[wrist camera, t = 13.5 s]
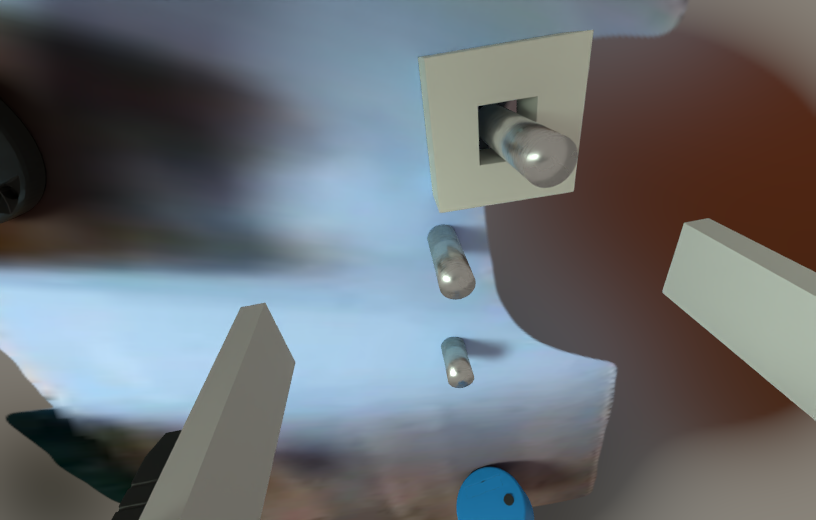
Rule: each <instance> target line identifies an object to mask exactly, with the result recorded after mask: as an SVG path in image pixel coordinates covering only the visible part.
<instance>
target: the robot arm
mask: <svg viewBox="0 0 816 520" xmlns="http://www.w3.org/2000/svg"><path fill="white" fill-rule="evenodd" d="M45 183H46V174H45V167H44V163H43V159H42V157H41V154H40V152H39V149H38V147H37V145H36V143H35V141H34V140H33V138H32V136H31V135H30V133H29V132H28V130H27V129H26V127H25V126H24V125H23V123H22V122H21V121H20V120H19V118H18V117H17V116H16V115H15V114H14V113H13V111H12V110H11V109H10V108H9V107H8V106H7V105H6V104H5V103H4V102H3V101H2V100H0V223H3V222H6V221H8V220H10V219H12V218H15V217H17V216H19V215H21V214H23V213H25V212H27V211H29V210H30V209H32V208H33V207H34V206H35V205H36V204H37V203H38V202H39V200H40V199H41V197H42V195H43V192H44V189H45ZM662 292H663V293H664V294H665V295H666V296H667V297H668V298H669V299H671V300H672V301H673V302H674V303H675V304H677V305H678V306H679V307H680V308H681V309H683V310H684V311H685V312H686V313H687V314H689V315H690V316H691V317H692V318H693V319H695V320H696V321H697V322H698V323H699V324H701V325H702V326H703V327H704V328H705V329H707V330H708V331H709V332H710V333H711V334H713V335H714V336H715V337H716V338H717V339H719V340H720V341H721V342H722V343H723V344H725V345H726V346H727V347H728V348H729V349H731V350H732V351H733V352H734V353H735V354H736V355H738V356H739V357H740V358H742V359H743V360H744V361H745V362H746V363H747V364H749V365H750V366H751V367H752V368H753V369H754V370H756V371H757V372H758V373H759V374H760V375H762V376H763V377H764V378H765V379H766V380H768V381H769V382H770V383H771V384H772V385H774V386H775V387H776V388H777V389H779V390H780V391H781V392H782V393H783V394H784V395H786V396H787V397H788V398H789V399H790V400H792V401H793V402H794V403H795V404H796V405H797V406H799V407H800V408H801V409H802V410H803V411H805V412H806V413H807V414H808V415H810V416H811V417H812V418H813V419H814V420H815V421H816V272H814V271H812V270H810V269H808V268H806V267H804V266H802V265H800V264H798V263H796V262H794V261H792V260H790V259H788V258H786V257H784V256H782V255H780V254H778V253H776V252H774V251H772V250H770V249H768V248H766V247H764V246H762V245H760V244H758V243H756V242H754V241H753V240H750V239H749V238H747V237H744V236H742V235H741V234H738V233H737V232H735V231H733V230H731V229H729V228H727V227H725V226H723V225H721V224H719V223H717V222H715V221H713V220H711V219H709V218H707V219H702V220H697V221H692V222H686V223H684V225H683V228H682V231H681V234H680V238H679V241H678V244H677V247H676V250H675V254H674V257H673V260H672V263H671V266H670V269H669V272H668V275H667V279H666V282H665V285H664V288H663V291H662ZM294 366H295V361H294V359H293V357H292V355H291V353H290V351H289V349H288V347H287V345H286V343H285V341H284V339H283V337H282V335H281V333H280V331H279V329H278V327H277V325H276V323H275V321H274V319H273V317H272V315H271V313H270V311H269V309H268V307H267V305H266V303H261V304H256V305H251V306H245V307H241V308H240V310H239V312H238V314H237V316H236V318H235V320H234V323H233V325H232V327H231V329H230V331H229V333H228V335H227V337H226V339H225V341H224V343H223V345H222V348H221V350H220V352H219V354H218V356H217V358H216V360H215V362H214V364H213V366H212V368H211V370H210V373H209V375H208V377H207V379H206V381H205V383H204V385H203V387H202V389H201V391H200V393H199V395H198V398H197V400H196V402H195V404H194V406H193V408H192V410H191V412H190V414H189V416H188V418H187V420H186V423H185V425H184V427H183V429H182V430H179V431H174V432H169V433H166V434H165V435H164V436H163V437H162V438H161V439H160V441H159V442H158V443H157V444H156V445H155V446H154V448H153V449H152V450H151V451H150V452H149V453H148V455H147V456H146V457H145V459H144V460H143V462H142V464H141V466H140V468H139V470H138V472H137V474H136V475H135V477H134V479H133V481H132V483H131V484H132V486H131V488H130V489H128V490H127V492H126V494H125V496H124V498H123V500H122V501H121V503H120V505H119V511H118V512H116V513H115V514H114V516H113V518H112V520H260V517H261V513H262V508H263V504H264V500H265V495H266V491H267V486H268V482H269V477H270V473H271V468H272V464H273V459H274V455H275V451H276V446H277V442H278V437H279V433H280V428H281V424H282V419H283V415H284V411H285V406H286V402H287V397H288V393H289V388H290V384H291V379H292V375H293V370H294Z"/></svg>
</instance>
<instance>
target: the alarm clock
mask: <svg viewBox="0 0 816 520" xmlns="http://www.w3.org/2000/svg"><path fill="white" fill-rule="evenodd" d="M457 516H458V520H534V513H533V509H532V505H531V503H530V500H529V498H528V497H527V495H526V493H525V492H524V491H523V489H522V488H521V486H520V485H519V484H518V482H517V481H516V480H515V478H514V477H513V476H512V475H510V474H509V473H508V472H506V471H504V470H503V469H500V468H497V467H483V468H480V469H477V470H476V471H474V472H472V473H471V474H470V475H469V476H468V477H467V478H466V479H465V481H464V482H463V484H462V486H461V488H460V490H459V493H458V498H457Z"/></svg>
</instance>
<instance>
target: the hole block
mask: <svg viewBox="0 0 816 520" xmlns="http://www.w3.org/2000/svg"><path fill="white" fill-rule="evenodd" d="M592 38H593V30H587V31H576V32H566V33H559V34H553V35H547V36H541V37H535V38H529V39H523V40H517V41H511V42H505V43H499V44H493V45H487V46H481V47H475V48H469V49H463V50H457V51H451V52H445V53H439V54H433V55H427V56H421V57H418V62H419V72H420V81H421V90H422V99H423V108H424V117H425V127H426V136H427V145H428V154H429V163H430V173H431V182H432V191H433V196H434V199H435V202H436V204H437V207H438V210H439V212H440V213H444V212H450V211H456V210H462V209H469V208H475V207H481V206H487V205H493V204H499V203H506V202H512V201H518V200H524V199H531V198H537V197H543V196H549V195H555V194H562V193H567V192H573V191H574V185H575V177H576V168H577V163H576V166H575V168H574V170H573V172H572V173H571V174H570V176H569V177H568V178H567V179H566V180H565V181H563V182H562V183H560V184H558V185H556V186H554V187H550V188H540V187H537V186H535V185H533V184H532V183H531V182H529V181H528V180H527V179H526V178H525V177H524V176H523V175H521V174H520V173H519V172H518V171H517V170H516V169H515V168H513V167H512V166H511V165H510V164H509V163H508V162H507V161H506V160H504V159H503V158H502V157H501V156H500V155H499V154H498V153H496V152H495V151H494V150H493V149H492V148H487V149H481V150H479V130H478V106H481V105H487V104H493V103H499V102H505V101H511V100H517V114H519V115H522V116H524V117H526V118H528V119H530V120H532V121H534V122H537V123H539V124H541V125H543V126H545V127H547V128H550V129H552V130H554V131H556V132H558V133H560V134H562V135H565V136H567V137H569V138H570V139H571V140H572V141H573V142H574V143H575V145H576V147H577V151H578V152H579V144H580V136H581V128H582V120H583V112H584V103H585V95H586V86H587V79H588V71H589V63H590V55H591V47H592V46H591V45H592ZM577 160H578V159H577Z"/></svg>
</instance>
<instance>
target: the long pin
mask: <svg viewBox="0 0 816 520" xmlns="http://www.w3.org/2000/svg"><path fill="white" fill-rule="evenodd" d="M478 130H479V138H481V139H482V140H483V141H484V142H485V143H486V144H487V145H488V146H490V147H491V148H492V149H493V150H494V151H495V152H496V153H498V154H499V155H500V156H501V157H502V158H503V159H504V160H506V161H507V162H508V163H509V164H510V165H511V166H512V167H513V168H515V169H516V170H517V171H518V172H519V173H520V174H521V175H523V176H524V177H525V178H526V179H527V180H528V181H529V182H531V183H532V184H533V185H535V186H537V187H540V188H550V187H554V186H556V185H558V184H560V183H562V182H563V181H565V180H566V179H567V178H568V177H569V176H570V174H571V173H572V172H573V170H574V168H575V166H576V163H577V159H578V151H577V147H576V145H575V143H574V142H573V141H572V140H571V139H570V138H569V137H567V136H565V135H562V134H560V133H558V132H556V131H554V130H552V129H550V128H547V127H545V126H543V125H541V124H539V123H537V122H534V121H532V120H530V119H528V118H526V117H524V116H522V115H519V114H517V113H515V112H513V111H511V110H509V109H506V108H504V107H502V106H500V105H498V104H488V105H486V106H484V107H482V108H481V109H480V110H479V111H478Z"/></svg>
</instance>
